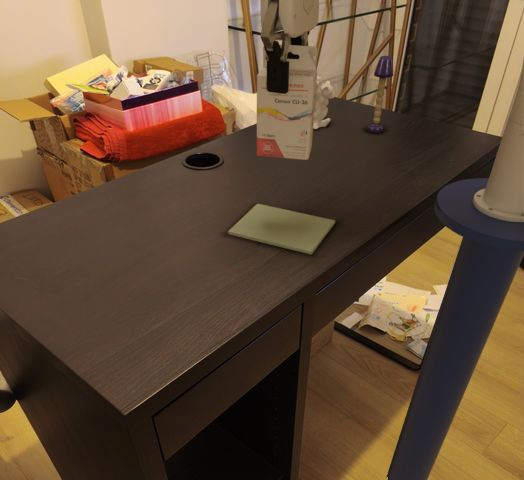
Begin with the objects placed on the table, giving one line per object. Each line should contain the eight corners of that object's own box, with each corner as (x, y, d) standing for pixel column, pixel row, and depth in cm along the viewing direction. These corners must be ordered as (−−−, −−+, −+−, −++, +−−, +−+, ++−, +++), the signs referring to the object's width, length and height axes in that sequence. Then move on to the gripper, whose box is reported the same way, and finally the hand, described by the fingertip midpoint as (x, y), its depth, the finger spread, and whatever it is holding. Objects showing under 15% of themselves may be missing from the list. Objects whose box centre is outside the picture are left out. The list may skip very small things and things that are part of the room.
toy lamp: (363, 127, 126) (373, 55, 115) (379, 126, 127) (391, 54, 115) (370, 134, 123) (381, 59, 111) (387, 132, 123) (399, 58, 112)
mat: (335, 223, 88) (335, 220, 88) (311, 254, 80) (311, 251, 80) (257, 206, 93) (257, 203, 93) (228, 234, 85) (227, 231, 85)
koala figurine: (319, 132, 123) (323, 80, 115) (297, 127, 127) (300, 76, 118) (336, 123, 128) (341, 73, 120) (315, 118, 131) (319, 69, 123)
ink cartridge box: (255, 157, 76) (254, 50, 66) (261, 145, 80) (261, 43, 70) (309, 160, 75) (316, 52, 65) (312, 149, 79) (319, 45, 69)
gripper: (292, -74, 52) (286, 106, 64) (342, -78, 63) (330, 75, 75) (231, -75, 54) (237, 99, 66) (290, -79, 65) (286, 70, 78)
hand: (286, 85), depth 71 cm, fingers closed on ink cartridge box, 5 cm apart
